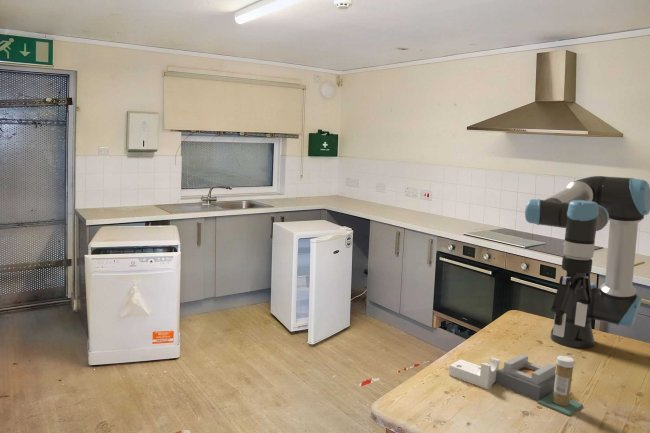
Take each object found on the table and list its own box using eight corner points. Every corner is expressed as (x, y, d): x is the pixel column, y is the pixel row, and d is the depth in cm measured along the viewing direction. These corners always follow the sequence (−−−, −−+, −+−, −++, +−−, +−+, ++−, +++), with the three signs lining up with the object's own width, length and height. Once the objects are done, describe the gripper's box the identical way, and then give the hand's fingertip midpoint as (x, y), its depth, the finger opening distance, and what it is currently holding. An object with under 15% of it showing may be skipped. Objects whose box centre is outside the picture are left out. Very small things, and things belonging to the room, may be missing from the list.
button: (524, 377, 171) (525, 368, 170) (539, 383, 167) (540, 373, 167) (517, 381, 167) (517, 372, 167) (531, 387, 164) (532, 377, 163)
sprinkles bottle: (572, 404, 155) (578, 359, 153) (563, 408, 153) (568, 362, 151) (557, 397, 159) (563, 353, 157) (548, 401, 157) (553, 356, 155)
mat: (552, 394, 162) (552, 392, 162) (582, 406, 156) (583, 404, 156) (537, 403, 156) (537, 401, 156) (568, 416, 150) (569, 414, 150)
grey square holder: (518, 371, 177) (520, 351, 176) (560, 387, 167) (562, 366, 166) (495, 383, 168) (497, 361, 167) (538, 401, 158) (541, 378, 157)
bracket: (497, 382, 169) (499, 359, 168) (487, 390, 164) (489, 366, 163) (459, 369, 178) (461, 347, 177) (448, 375, 172) (450, 353, 171)
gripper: (583, 249, 161) (575, 317, 164) (543, 259, 144) (535, 336, 147) (609, 253, 155) (601, 324, 158) (571, 265, 139) (562, 344, 142)
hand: (569, 330), depth 153 cm, fingers open, 13 cm apart
